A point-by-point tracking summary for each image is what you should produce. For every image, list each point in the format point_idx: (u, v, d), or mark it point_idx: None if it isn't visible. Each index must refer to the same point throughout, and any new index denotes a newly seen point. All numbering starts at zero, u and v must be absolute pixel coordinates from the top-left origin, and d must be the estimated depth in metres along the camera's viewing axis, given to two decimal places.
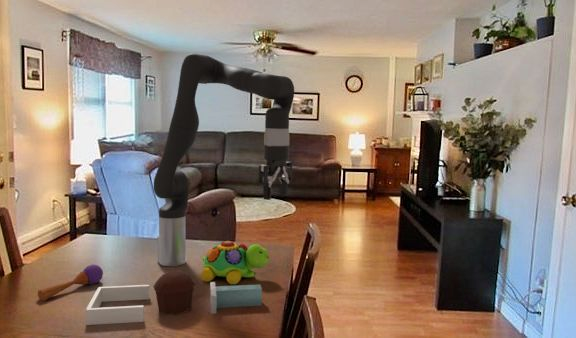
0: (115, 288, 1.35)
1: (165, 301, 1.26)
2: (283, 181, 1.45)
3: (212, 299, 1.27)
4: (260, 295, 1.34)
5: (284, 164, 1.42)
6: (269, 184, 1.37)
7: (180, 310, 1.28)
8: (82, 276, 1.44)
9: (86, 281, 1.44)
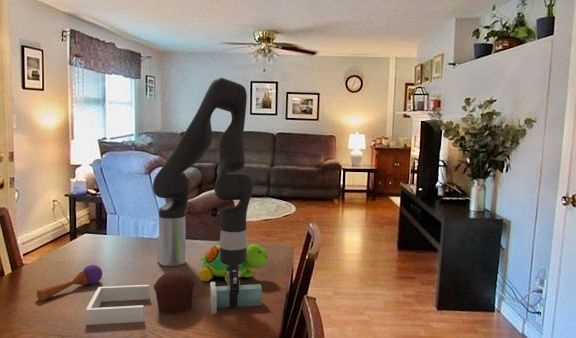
0: (115, 288, 1.35)
1: (165, 301, 1.26)
2: None
3: (212, 299, 1.27)
4: (260, 295, 1.34)
5: (230, 270, 1.30)
6: None
7: (180, 310, 1.28)
8: (81, 276, 1.44)
9: (85, 281, 1.44)
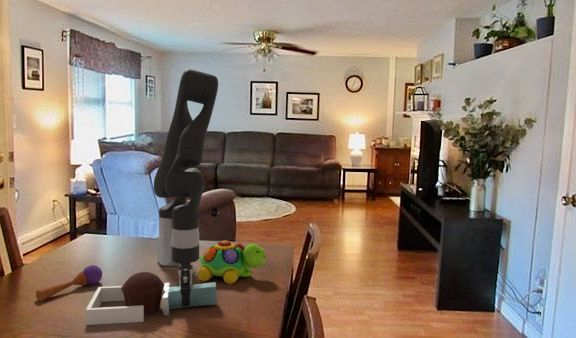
0: (115, 288, 1.35)
1: (133, 303, 1.24)
2: None
3: (163, 300, 1.25)
4: (214, 293, 1.32)
5: (181, 268, 1.28)
6: None
7: (149, 312, 1.26)
8: (81, 276, 1.43)
9: (85, 282, 1.44)
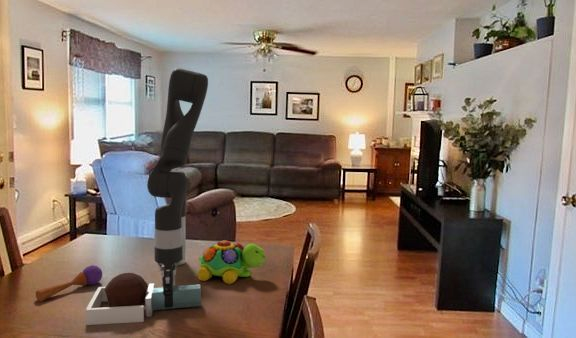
0: None
1: (117, 304, 1.23)
2: None
3: (146, 301, 1.24)
4: (198, 295, 1.31)
5: (164, 269, 1.27)
6: None
7: None
8: (81, 276, 1.43)
9: (85, 282, 1.44)
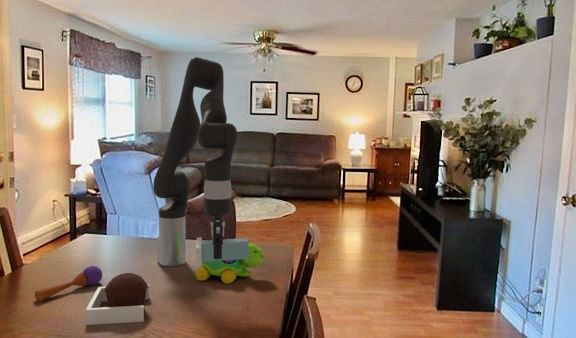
0: None
1: (116, 304, 1.23)
2: None
3: (197, 251, 1.25)
4: (247, 248, 1.31)
5: (213, 220, 1.27)
6: None
7: None
8: (81, 277, 1.43)
9: (85, 282, 1.43)
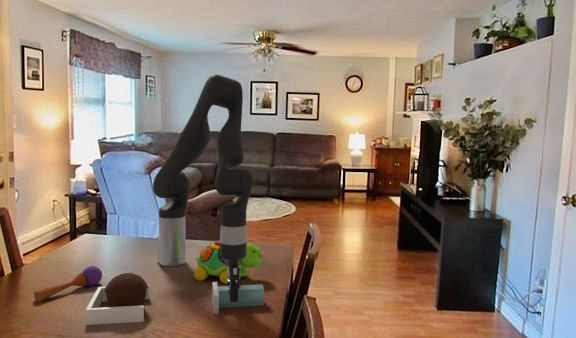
0: None
1: (116, 304, 1.23)
2: None
3: (214, 299, 1.28)
4: (262, 295, 1.34)
5: (230, 265, 1.30)
6: None
7: None
8: (80, 277, 1.43)
9: (84, 283, 1.43)
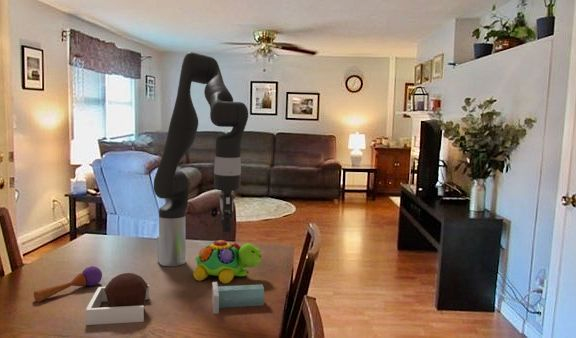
0: None
1: (116, 304, 1.23)
2: None
3: (214, 299, 1.28)
4: (262, 295, 1.34)
5: (223, 196, 1.32)
6: None
7: None
8: (80, 277, 1.43)
9: (84, 283, 1.43)
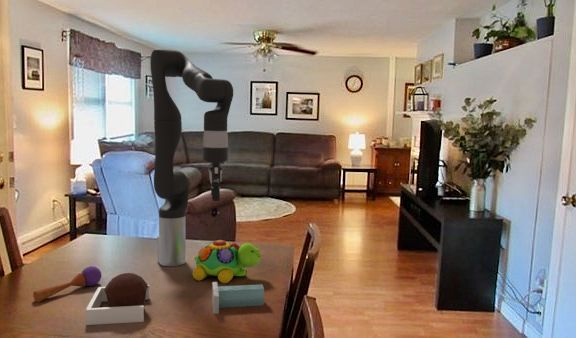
0: None
1: (116, 304, 1.23)
2: None
3: (214, 299, 1.28)
4: (262, 295, 1.34)
5: (212, 167, 1.41)
6: None
7: None
8: (79, 277, 1.42)
9: (83, 283, 1.43)
